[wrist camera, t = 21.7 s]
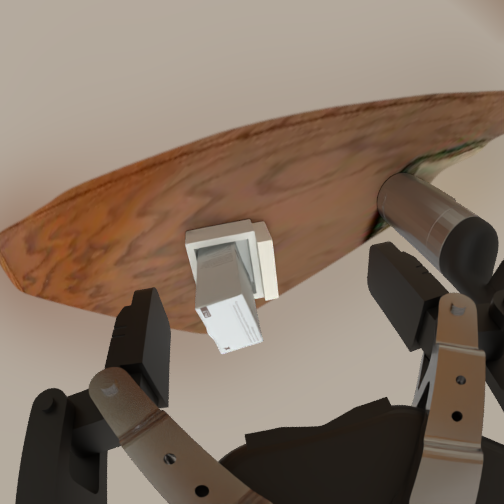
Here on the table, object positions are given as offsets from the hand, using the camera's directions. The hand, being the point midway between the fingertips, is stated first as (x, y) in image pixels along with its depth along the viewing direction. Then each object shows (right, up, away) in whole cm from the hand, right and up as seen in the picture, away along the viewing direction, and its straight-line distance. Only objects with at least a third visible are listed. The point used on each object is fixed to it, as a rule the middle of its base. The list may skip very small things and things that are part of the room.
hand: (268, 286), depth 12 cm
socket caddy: (-5, 0, +39) cm, 39 cm away
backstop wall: (+1, +1, +39) cm, 39 cm away
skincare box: (-5, 0, +38) cm, 38 cm away
